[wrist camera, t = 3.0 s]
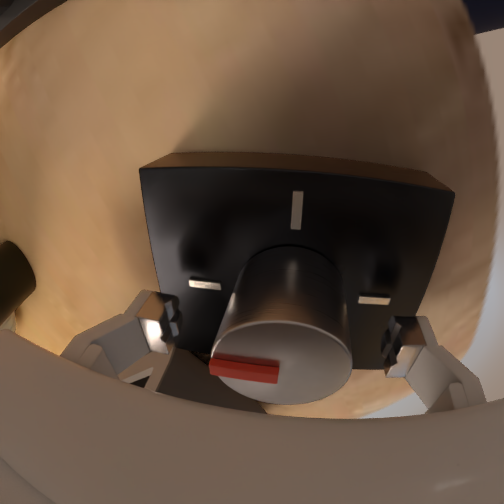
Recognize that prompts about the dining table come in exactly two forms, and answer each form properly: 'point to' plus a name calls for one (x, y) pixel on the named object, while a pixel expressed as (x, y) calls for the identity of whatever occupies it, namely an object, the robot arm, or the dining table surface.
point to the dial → (285, 329)
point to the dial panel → (293, 233)
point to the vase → (9, 323)
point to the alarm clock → (185, 380)
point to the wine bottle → (13, 279)
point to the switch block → (21, 15)
